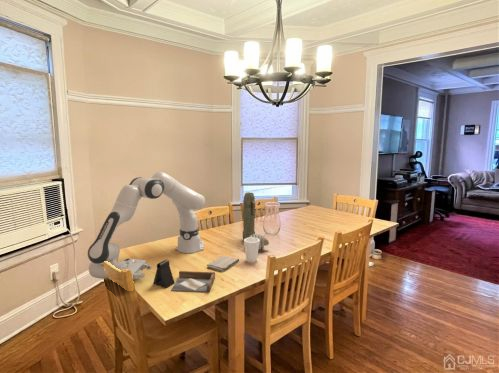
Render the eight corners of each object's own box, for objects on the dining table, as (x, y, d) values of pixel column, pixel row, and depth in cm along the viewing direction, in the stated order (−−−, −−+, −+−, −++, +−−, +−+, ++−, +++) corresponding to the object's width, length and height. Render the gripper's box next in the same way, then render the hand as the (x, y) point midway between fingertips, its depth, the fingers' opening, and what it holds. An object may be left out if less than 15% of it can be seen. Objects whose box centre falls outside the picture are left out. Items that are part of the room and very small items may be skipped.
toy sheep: (269, 253, 205) (270, 236, 203) (243, 253, 203) (243, 237, 201) (267, 247, 215) (267, 231, 213) (242, 247, 214) (242, 231, 212)
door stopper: (153, 284, 162) (152, 262, 160) (161, 279, 167) (160, 257, 165) (166, 288, 158) (165, 265, 155) (174, 283, 163) (173, 261, 161)
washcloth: (205, 269, 181) (205, 264, 181) (223, 258, 197) (223, 253, 196) (223, 273, 176) (223, 268, 175) (239, 262, 191) (239, 257, 191)
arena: (179, 277, 170) (179, 271, 169) (214, 278, 168) (214, 272, 168) (171, 291, 155) (170, 284, 154) (209, 292, 154) (209, 285, 153)
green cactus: (250, 244, 219) (250, 195, 213) (238, 240, 228) (239, 192, 222) (259, 241, 225) (259, 193, 219) (247, 237, 234) (248, 191, 228)
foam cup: (248, 256, 199) (248, 236, 197) (261, 258, 195) (262, 238, 193) (241, 261, 191) (241, 241, 188) (255, 264, 187) (255, 243, 184)
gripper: (110, 273, 152) (138, 274, 151) (129, 256, 172) (154, 257, 171) (111, 285, 153) (139, 287, 152) (130, 267, 173) (155, 268, 172)
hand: (147, 271), depth 162 cm, fingers open, 8 cm apart
